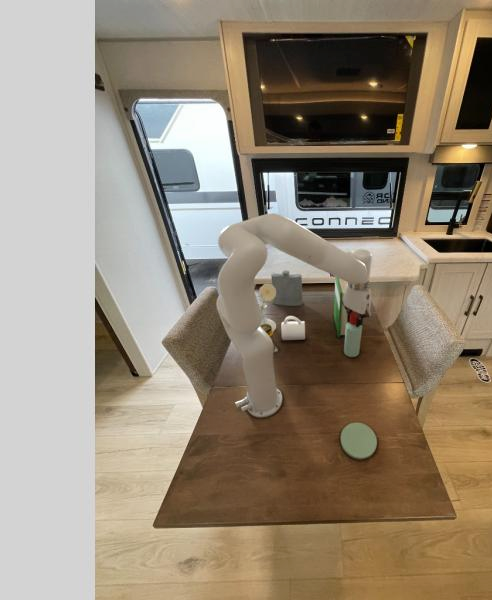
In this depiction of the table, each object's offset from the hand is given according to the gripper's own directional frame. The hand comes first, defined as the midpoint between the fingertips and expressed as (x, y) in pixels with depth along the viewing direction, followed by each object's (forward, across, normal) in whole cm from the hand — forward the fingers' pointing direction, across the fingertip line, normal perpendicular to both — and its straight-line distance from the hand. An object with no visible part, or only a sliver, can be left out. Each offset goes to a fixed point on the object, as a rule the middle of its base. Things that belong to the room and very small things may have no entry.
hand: (354, 323), depth 106 cm
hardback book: (+16, +14, -12) cm, 24 cm away
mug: (+16, +25, +11) cm, 32 cm away
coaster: (+16, -26, +30) cm, 42 cm away
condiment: (+16, +28, +25) cm, 41 cm away
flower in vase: (+16, +39, +16) cm, 45 cm away
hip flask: (+16, +49, -6) cm, 52 cm away
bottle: (+15, 0, 0) cm, 15 cm away
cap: (-1, 0, 0) cm, 1 cm away
